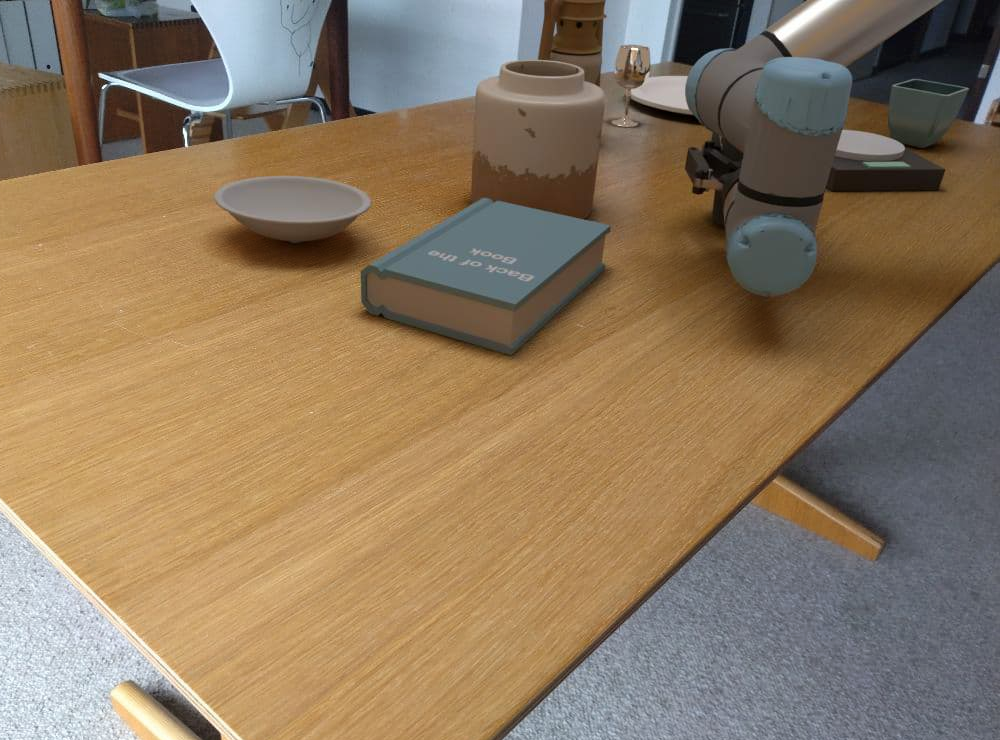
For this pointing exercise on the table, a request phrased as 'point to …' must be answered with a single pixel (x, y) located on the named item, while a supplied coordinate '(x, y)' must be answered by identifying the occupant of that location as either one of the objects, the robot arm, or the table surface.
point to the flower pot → (923, 111)
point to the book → (487, 273)
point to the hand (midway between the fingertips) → (749, 146)
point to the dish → (292, 206)
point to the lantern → (574, 35)
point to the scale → (880, 165)
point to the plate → (663, 94)
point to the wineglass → (631, 74)
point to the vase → (538, 137)
